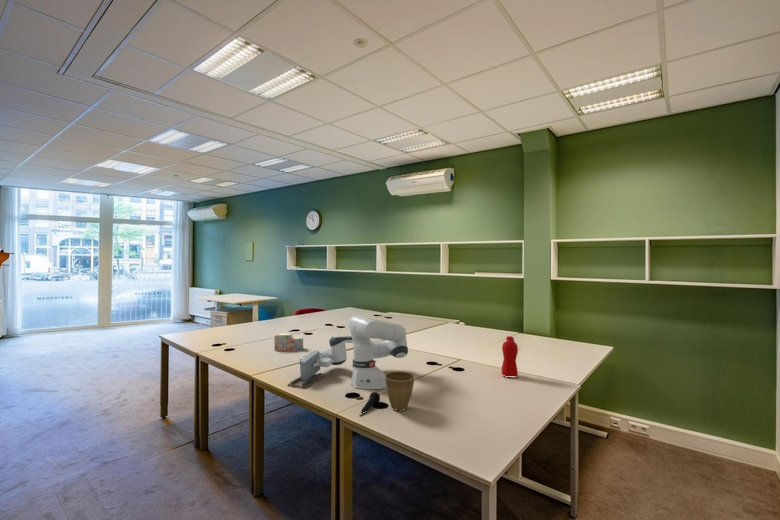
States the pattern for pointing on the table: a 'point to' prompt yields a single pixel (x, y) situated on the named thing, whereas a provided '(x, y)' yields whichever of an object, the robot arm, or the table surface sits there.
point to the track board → (307, 383)
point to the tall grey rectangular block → (309, 365)
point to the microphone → (371, 401)
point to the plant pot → (399, 388)
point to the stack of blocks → (288, 342)
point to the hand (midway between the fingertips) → (308, 365)
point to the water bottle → (509, 357)
